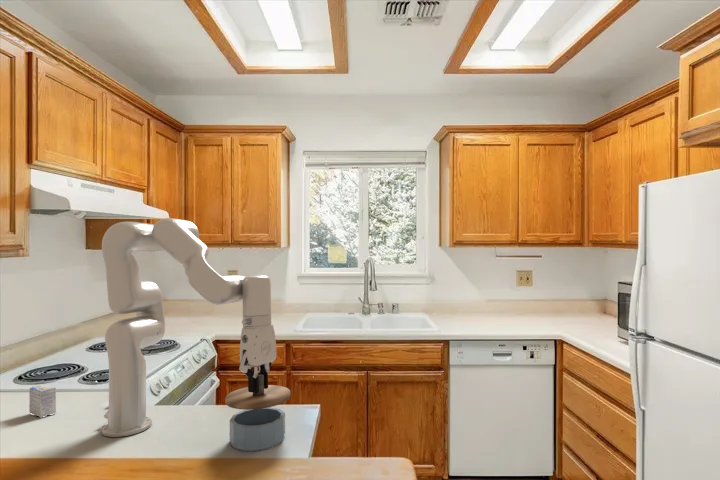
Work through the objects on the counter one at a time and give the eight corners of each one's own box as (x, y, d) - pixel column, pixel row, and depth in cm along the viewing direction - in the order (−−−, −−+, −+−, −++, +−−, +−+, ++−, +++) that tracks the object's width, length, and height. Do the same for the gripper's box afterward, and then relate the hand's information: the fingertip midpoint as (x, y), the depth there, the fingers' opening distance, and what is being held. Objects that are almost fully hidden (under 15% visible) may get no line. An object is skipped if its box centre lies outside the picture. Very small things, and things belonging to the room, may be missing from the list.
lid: (211, 404, 108) (210, 380, 108) (255, 385, 123) (255, 365, 123) (262, 413, 100) (262, 388, 100) (302, 392, 115) (302, 370, 115)
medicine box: (56, 414, 133) (56, 386, 134) (40, 419, 129) (40, 390, 130) (44, 410, 137) (45, 383, 138) (28, 414, 133) (29, 387, 134)
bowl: (219, 445, 108) (218, 421, 108) (255, 425, 120) (255, 404, 121) (261, 455, 101) (260, 430, 102) (295, 433, 114) (294, 411, 114)
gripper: (246, 326, 103) (247, 401, 102) (286, 317, 118) (288, 383, 117) (224, 325, 107) (225, 397, 106) (266, 316, 121) (267, 380, 120)
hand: (258, 389), depth 111 cm, fingers closed on lid, 3 cm apart
